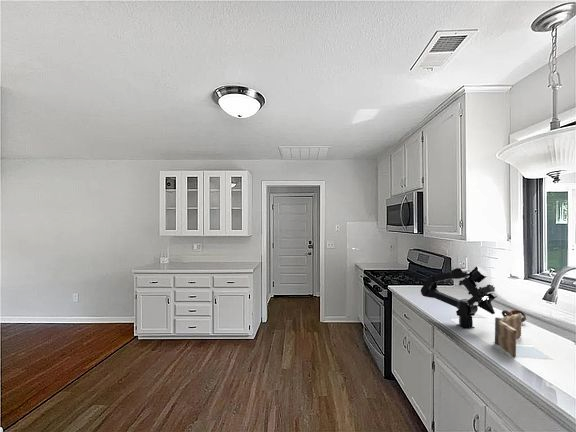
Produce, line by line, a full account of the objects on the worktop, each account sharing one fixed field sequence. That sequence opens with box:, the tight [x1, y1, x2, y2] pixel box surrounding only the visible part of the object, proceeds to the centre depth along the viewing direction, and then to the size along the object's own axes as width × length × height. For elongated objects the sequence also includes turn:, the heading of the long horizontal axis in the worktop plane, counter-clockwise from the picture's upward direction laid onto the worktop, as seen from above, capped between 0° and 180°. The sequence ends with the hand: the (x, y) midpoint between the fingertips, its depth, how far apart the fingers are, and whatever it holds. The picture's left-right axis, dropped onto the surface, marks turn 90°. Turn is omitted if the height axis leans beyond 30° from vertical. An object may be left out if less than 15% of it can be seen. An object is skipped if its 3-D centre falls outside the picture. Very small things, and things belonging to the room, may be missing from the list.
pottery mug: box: [501, 309, 527, 324], centre depth 198 cm, size 12×10×8 cm
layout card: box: [491, 341, 554, 361], centre depth 154 cm, size 17×17×1 cm
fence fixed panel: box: [494, 316, 517, 358], centre depth 154 cm, size 17×2×12 cm, turn 171°
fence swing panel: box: [500, 313, 523, 339], centre depth 167 cm, size 19×1×11 cm, turn 121°
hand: (493, 313), depth 174 cm, fingers closed
